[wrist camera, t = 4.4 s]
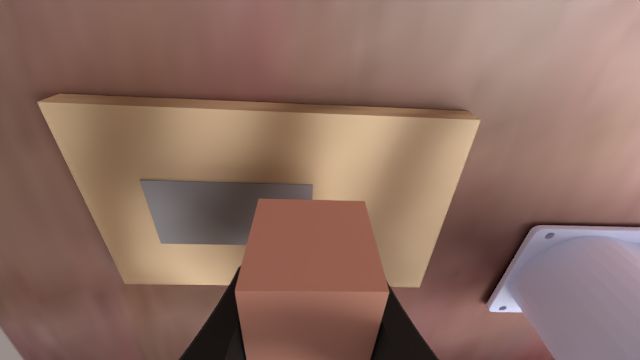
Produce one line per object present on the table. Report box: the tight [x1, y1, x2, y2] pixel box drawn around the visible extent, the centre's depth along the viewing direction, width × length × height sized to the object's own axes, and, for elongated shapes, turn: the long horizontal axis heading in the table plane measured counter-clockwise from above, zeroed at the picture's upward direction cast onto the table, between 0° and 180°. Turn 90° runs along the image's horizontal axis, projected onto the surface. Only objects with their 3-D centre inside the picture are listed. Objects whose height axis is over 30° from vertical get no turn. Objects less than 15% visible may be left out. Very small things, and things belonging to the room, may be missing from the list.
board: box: [37, 94, 481, 287], centre depth 15 cm, size 18×11×1 cm, turn 87°
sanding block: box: [235, 199, 389, 360], centre depth 11 cm, size 4×6×4 cm, turn 177°
